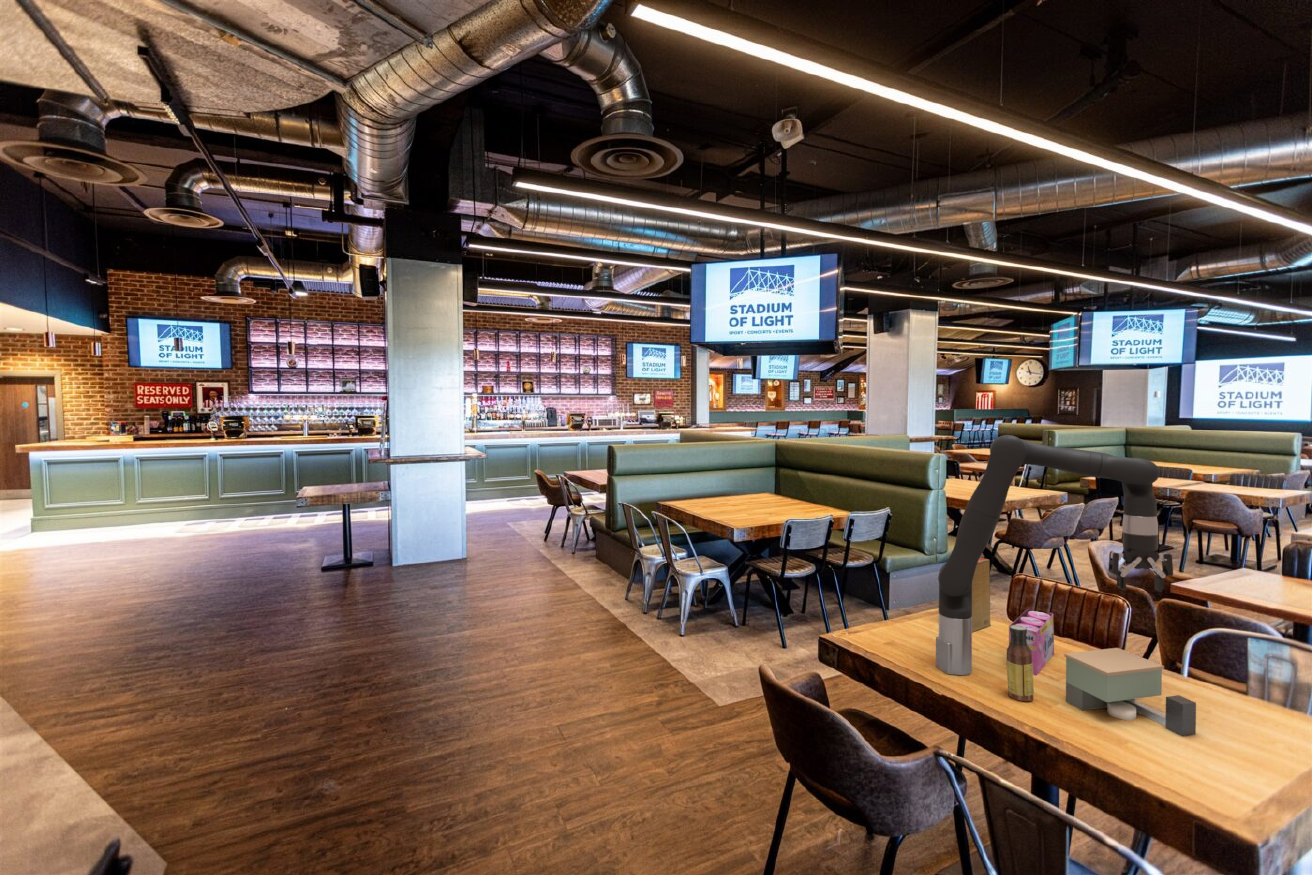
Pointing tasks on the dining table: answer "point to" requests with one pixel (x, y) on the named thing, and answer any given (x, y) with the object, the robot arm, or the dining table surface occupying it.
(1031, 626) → the gum box
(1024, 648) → the sauce bottle
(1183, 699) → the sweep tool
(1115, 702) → the puck
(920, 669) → the dining table surface
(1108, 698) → the cabinet
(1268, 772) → the dining table surface
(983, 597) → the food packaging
